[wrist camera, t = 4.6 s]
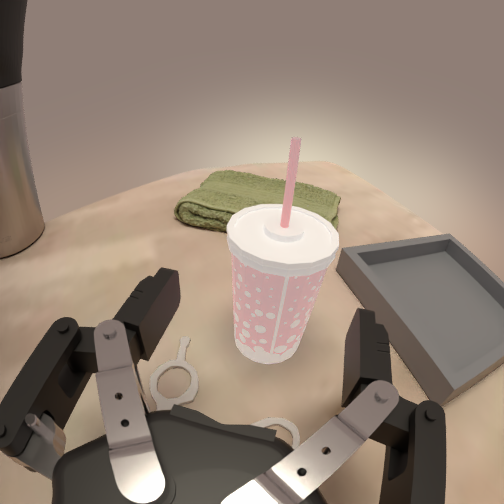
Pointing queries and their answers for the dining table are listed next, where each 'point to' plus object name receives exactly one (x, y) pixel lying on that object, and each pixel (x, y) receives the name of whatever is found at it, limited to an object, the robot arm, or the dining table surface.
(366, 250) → the grey tray
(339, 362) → the dining table surface
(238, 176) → the washcloth
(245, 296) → the beverage cup
